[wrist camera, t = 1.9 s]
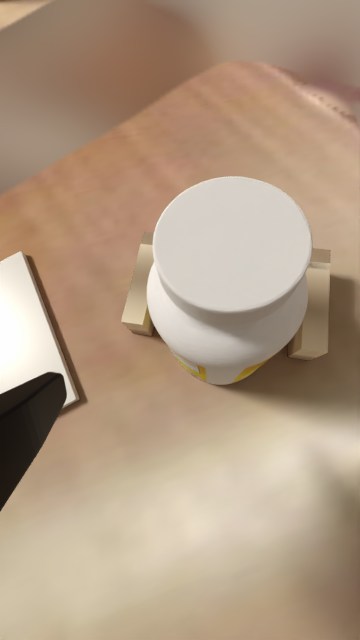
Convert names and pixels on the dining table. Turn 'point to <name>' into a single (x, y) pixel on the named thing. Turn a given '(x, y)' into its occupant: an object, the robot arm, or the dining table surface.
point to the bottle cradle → (302, 345)
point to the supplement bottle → (229, 276)
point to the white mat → (27, 330)
